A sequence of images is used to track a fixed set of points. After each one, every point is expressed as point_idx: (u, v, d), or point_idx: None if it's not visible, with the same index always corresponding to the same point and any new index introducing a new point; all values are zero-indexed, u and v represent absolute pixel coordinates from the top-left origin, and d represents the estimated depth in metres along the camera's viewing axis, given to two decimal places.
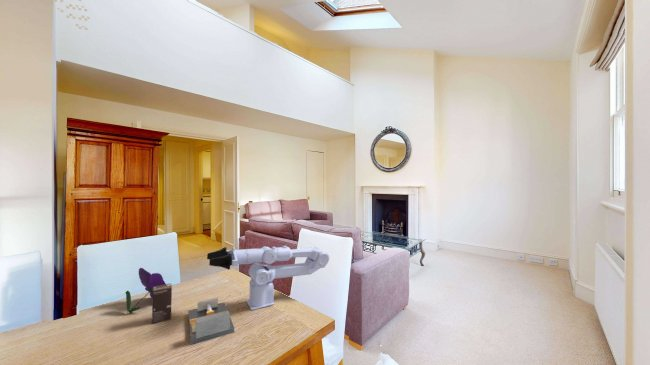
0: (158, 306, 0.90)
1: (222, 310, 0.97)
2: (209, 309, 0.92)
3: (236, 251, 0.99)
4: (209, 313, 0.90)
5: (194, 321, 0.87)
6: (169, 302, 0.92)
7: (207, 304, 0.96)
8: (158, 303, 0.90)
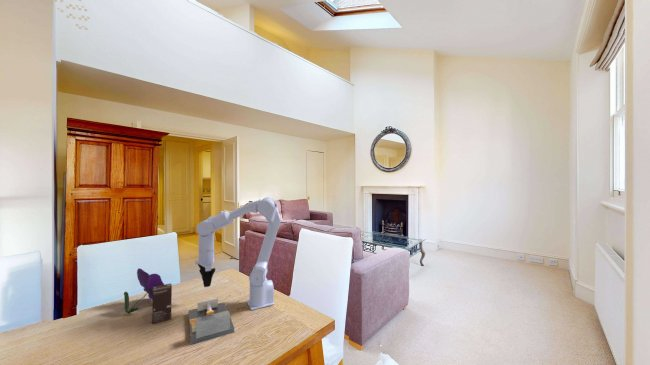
0: (158, 306, 0.90)
1: (222, 310, 0.97)
2: (209, 309, 0.92)
3: (199, 260, 1.00)
4: (209, 313, 0.90)
5: (194, 321, 0.87)
6: (169, 302, 0.92)
7: (207, 304, 0.96)
8: (158, 303, 0.90)
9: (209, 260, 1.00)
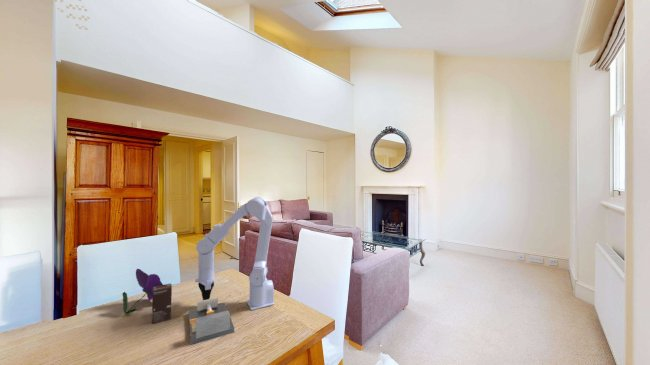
0: (158, 306, 0.90)
1: (222, 310, 0.97)
2: (209, 309, 0.92)
3: (199, 278, 1.00)
4: (209, 313, 0.90)
5: (194, 321, 0.87)
6: (169, 302, 0.92)
7: (207, 304, 0.96)
8: (158, 303, 0.90)
9: (208, 278, 1.00)
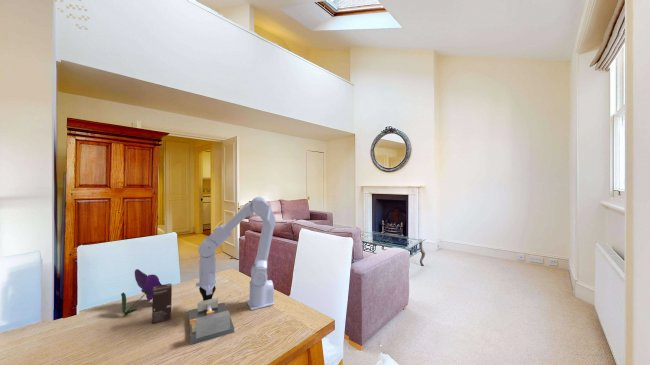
0: (158, 306, 0.90)
1: (222, 310, 0.97)
2: (209, 310, 0.92)
3: (200, 283, 0.96)
4: (209, 313, 0.89)
5: (194, 321, 0.87)
6: (169, 302, 0.92)
7: (207, 305, 0.95)
8: (158, 303, 0.90)
9: (210, 282, 0.97)
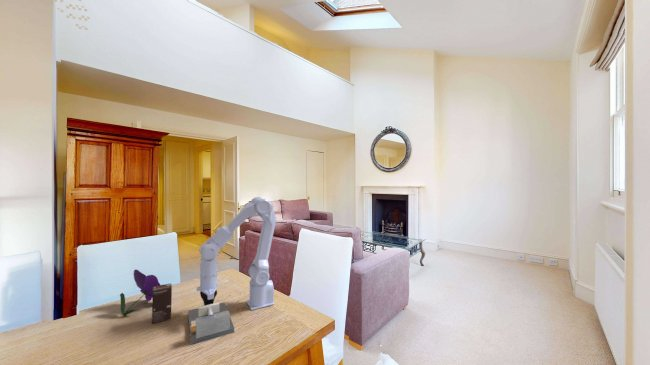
0: (158, 306, 0.90)
1: (222, 310, 0.97)
2: None
3: (201, 287, 0.93)
4: None
5: (195, 328, 0.84)
6: (169, 302, 0.92)
7: (208, 310, 0.92)
8: (158, 303, 0.90)
9: (211, 286, 0.93)
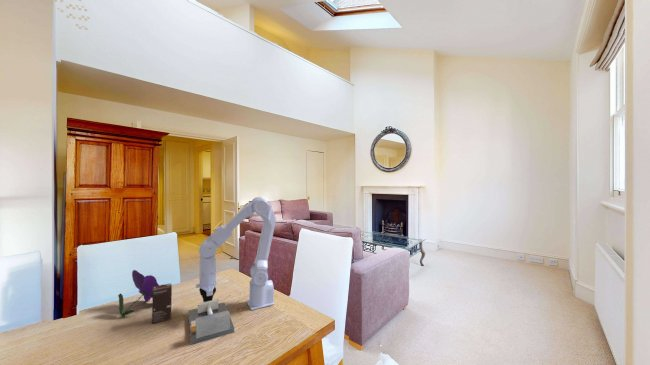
0: (158, 306, 0.90)
1: (222, 310, 0.97)
2: (210, 311, 0.91)
3: (200, 284, 0.95)
4: None
5: (195, 328, 0.84)
6: (169, 302, 0.92)
7: (207, 306, 0.94)
8: (158, 303, 0.90)
9: (210, 283, 0.96)
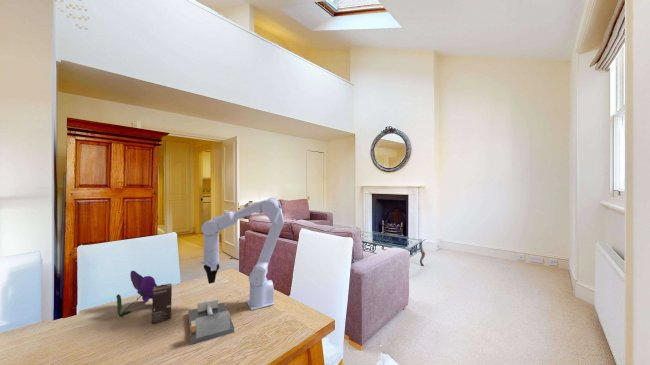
0: (158, 306, 0.90)
1: (222, 310, 0.97)
2: (209, 310, 0.91)
3: (204, 260, 1.01)
4: None
5: (195, 328, 0.84)
6: (169, 302, 0.92)
7: (207, 305, 0.95)
8: (158, 303, 0.90)
9: (214, 260, 1.01)
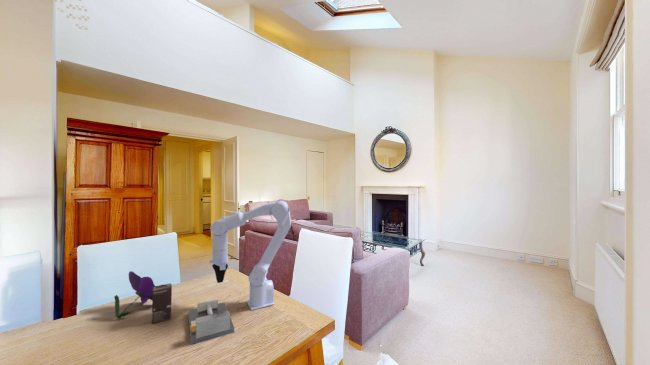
0: (158, 306, 0.90)
1: (222, 310, 0.97)
2: (209, 310, 0.91)
3: (213, 260, 1.01)
4: None
5: (195, 328, 0.84)
6: (169, 302, 0.92)
7: (207, 305, 0.95)
8: (158, 303, 0.90)
9: (223, 259, 1.01)
